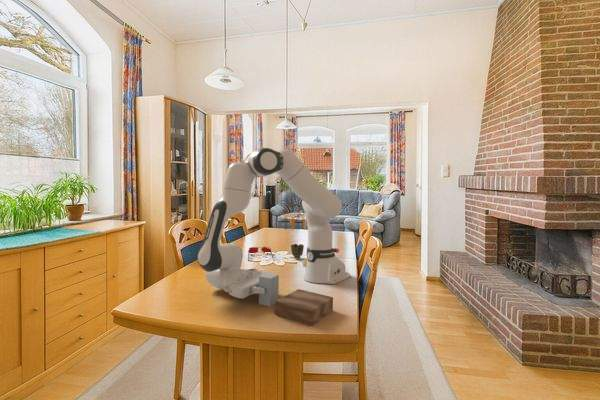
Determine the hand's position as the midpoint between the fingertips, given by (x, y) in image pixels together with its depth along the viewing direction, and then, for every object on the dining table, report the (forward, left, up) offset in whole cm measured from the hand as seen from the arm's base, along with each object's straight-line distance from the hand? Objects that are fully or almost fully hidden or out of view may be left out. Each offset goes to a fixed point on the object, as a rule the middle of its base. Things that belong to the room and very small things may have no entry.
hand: (270, 288), depth 110 cm
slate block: (0, -1, -6) cm, 6 cm away
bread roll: (-46, -31, -6) cm, 56 cm away
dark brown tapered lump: (-49, -46, -6) cm, 67 cm away
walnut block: (-5, +13, -6) cm, 15 cm away
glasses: (-34, -61, -6) cm, 70 cm away
